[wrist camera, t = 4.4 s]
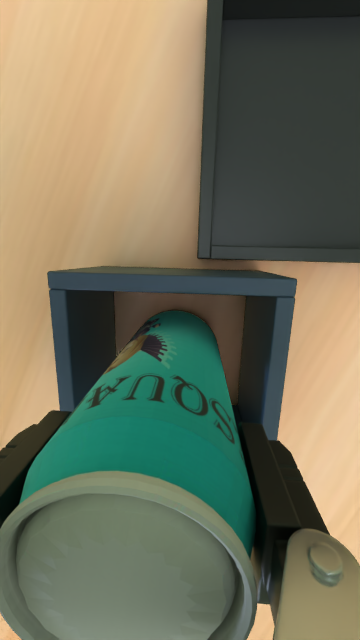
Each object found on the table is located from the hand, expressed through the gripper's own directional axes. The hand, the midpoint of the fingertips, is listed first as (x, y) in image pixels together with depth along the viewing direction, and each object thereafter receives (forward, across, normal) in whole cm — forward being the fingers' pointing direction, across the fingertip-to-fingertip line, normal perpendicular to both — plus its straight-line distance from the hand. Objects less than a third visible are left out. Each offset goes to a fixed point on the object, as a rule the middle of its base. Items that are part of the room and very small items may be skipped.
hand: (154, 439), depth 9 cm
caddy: (+11, 0, 0) cm, 11 cm away
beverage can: (+11, 0, 0) cm, 11 cm away
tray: (+11, -10, -13) cm, 19 cm away
